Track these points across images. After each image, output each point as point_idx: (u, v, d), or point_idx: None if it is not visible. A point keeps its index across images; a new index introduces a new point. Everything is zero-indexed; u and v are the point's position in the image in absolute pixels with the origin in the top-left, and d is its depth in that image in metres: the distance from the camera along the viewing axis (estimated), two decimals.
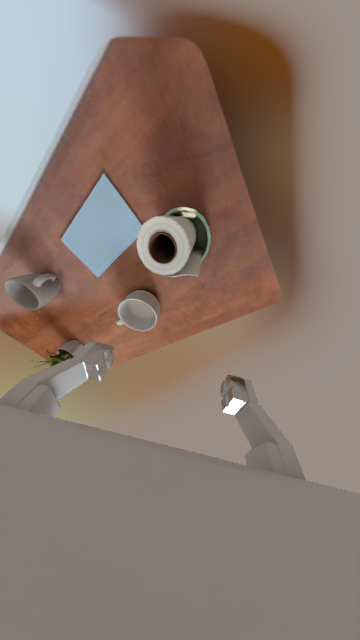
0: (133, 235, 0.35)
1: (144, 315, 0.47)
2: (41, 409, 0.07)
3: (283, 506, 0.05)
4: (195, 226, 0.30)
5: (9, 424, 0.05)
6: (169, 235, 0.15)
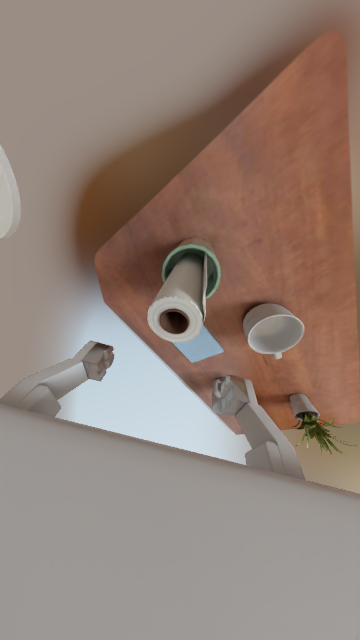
0: None
1: (280, 323, 0.36)
2: (41, 409, 0.07)
3: (283, 506, 0.05)
4: (182, 257, 0.29)
5: (9, 424, 0.05)
6: (161, 314, 0.15)
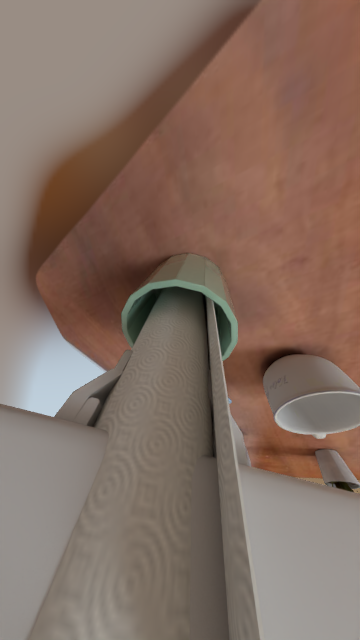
0: None
1: None
2: (93, 422, 0.07)
3: (283, 506, 0.05)
4: (166, 290, 0.16)
5: (9, 424, 0.05)
6: None
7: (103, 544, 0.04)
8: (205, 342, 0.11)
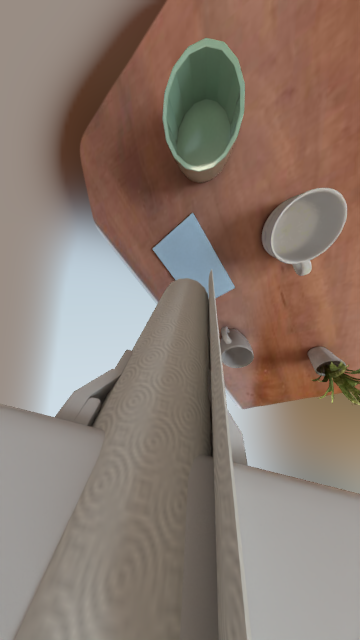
0: (197, 229, 0.33)
1: (308, 233, 0.29)
2: None
3: (283, 506, 0.05)
4: (170, 290, 0.16)
5: (9, 424, 0.05)
6: None
7: (97, 537, 0.04)
8: (207, 343, 0.11)
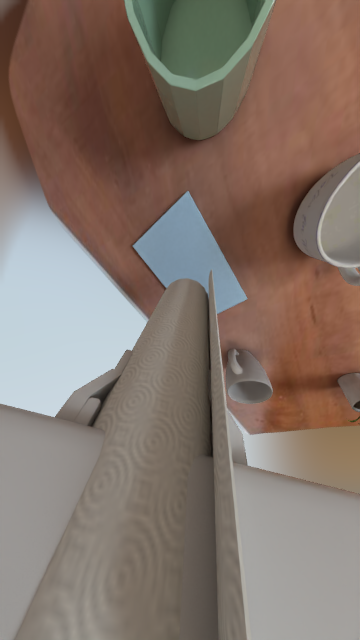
0: (195, 217, 0.22)
1: None
2: None
3: (283, 506, 0.05)
4: (170, 290, 0.16)
5: (9, 424, 0.05)
6: None
7: (97, 537, 0.04)
8: (207, 343, 0.11)
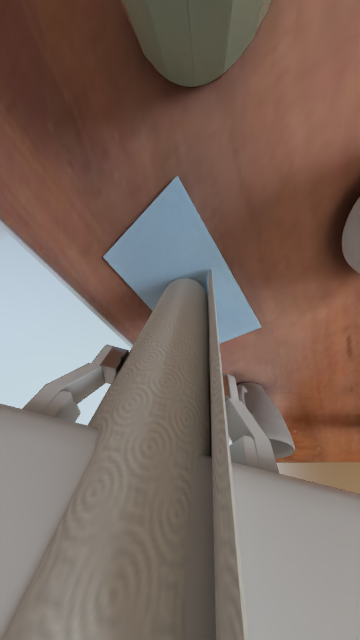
0: (189, 216, 0.15)
1: None
2: (64, 415, 0.07)
3: (283, 506, 0.05)
4: (169, 290, 0.16)
5: (9, 424, 0.05)
6: None
7: (88, 550, 0.03)
8: (206, 343, 0.11)
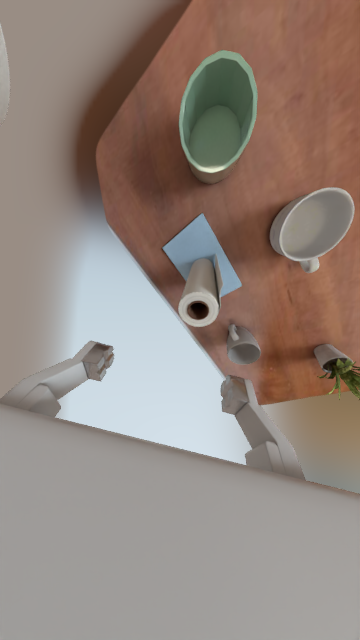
0: (206, 229, 0.34)
1: (315, 231, 0.30)
2: (41, 409, 0.07)
3: (283, 506, 0.05)
4: (196, 262, 0.35)
5: (9, 424, 0.05)
6: (189, 305, 0.22)
7: (199, 285, 0.22)
8: (214, 277, 0.30)
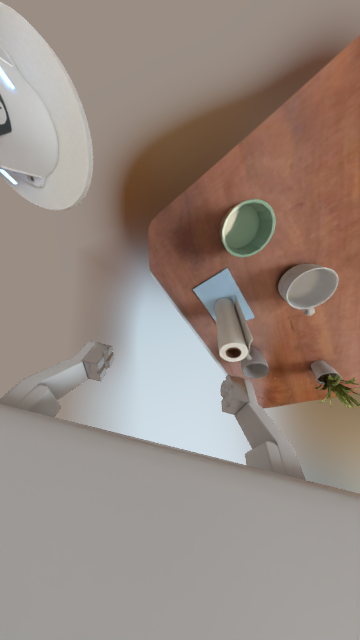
0: (229, 278, 0.44)
1: (312, 284, 0.41)
2: (41, 409, 0.07)
3: (283, 506, 0.05)
4: (221, 303, 0.45)
5: (9, 424, 0.05)
6: (228, 349, 0.32)
7: (233, 335, 0.33)
8: (238, 319, 0.41)
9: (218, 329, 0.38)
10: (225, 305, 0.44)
